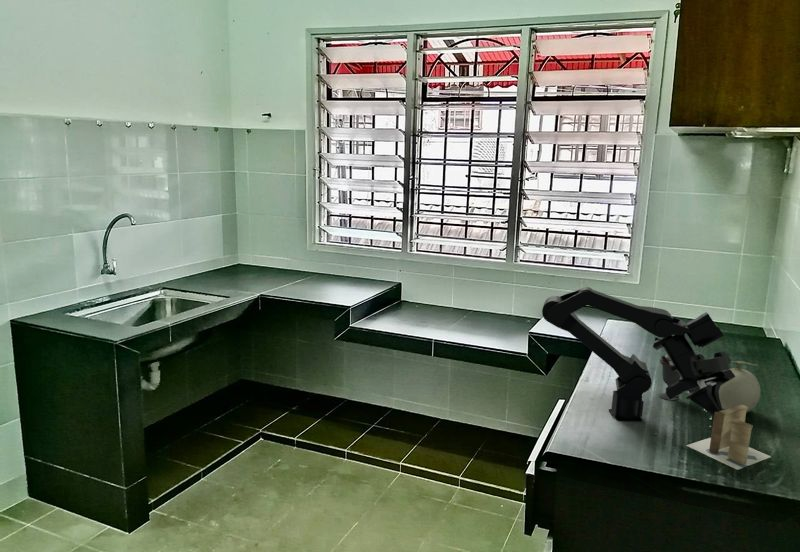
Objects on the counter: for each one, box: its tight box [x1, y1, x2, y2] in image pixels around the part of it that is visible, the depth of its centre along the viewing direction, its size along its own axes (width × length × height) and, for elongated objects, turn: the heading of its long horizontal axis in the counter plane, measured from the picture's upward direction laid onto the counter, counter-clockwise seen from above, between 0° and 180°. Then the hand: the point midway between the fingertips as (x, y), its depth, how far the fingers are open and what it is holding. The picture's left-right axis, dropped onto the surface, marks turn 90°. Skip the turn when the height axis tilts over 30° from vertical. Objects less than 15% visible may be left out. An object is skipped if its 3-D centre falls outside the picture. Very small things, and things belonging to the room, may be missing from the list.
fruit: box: [719, 360, 761, 413], centre depth 156 cm, size 10×12×15 cm
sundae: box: [658, 354, 681, 402], centre depth 163 cm, size 7×7×15 cm
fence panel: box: [719, 405, 748, 450], centre depth 135 cm, size 9×1×9 cm, turn 119°
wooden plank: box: [709, 412, 754, 465], centre depth 130 cm, size 8×2×9 cm, turn 29°
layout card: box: [686, 437, 772, 471], centre depth 134 cm, size 12×12×1 cm
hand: (721, 417), depth 136 cm, fingers closed
